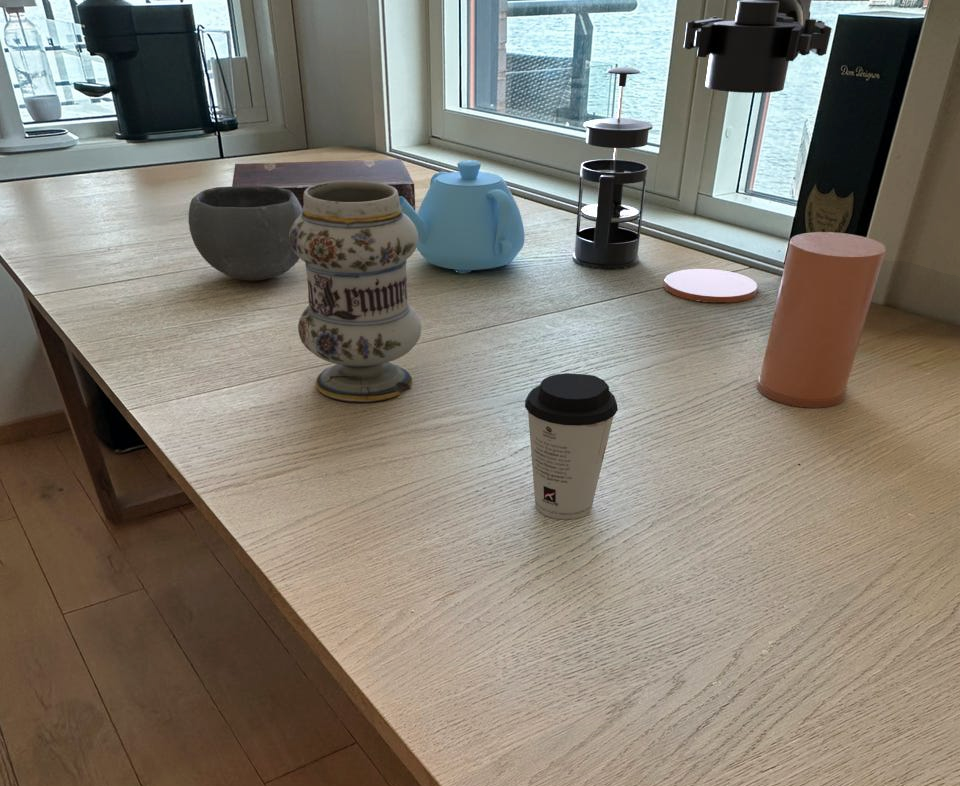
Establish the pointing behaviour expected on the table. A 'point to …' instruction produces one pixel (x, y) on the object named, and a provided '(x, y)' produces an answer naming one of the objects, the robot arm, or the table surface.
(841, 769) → the table surface
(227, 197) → the bowl
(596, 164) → the french press
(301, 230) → the apothecary jar
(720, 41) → the shaker lid
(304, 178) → the hardback book
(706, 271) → the coaster
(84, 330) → the table surface
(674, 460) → the table surface
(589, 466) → the coffee cup
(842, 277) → the cylinder
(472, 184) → the teapot
